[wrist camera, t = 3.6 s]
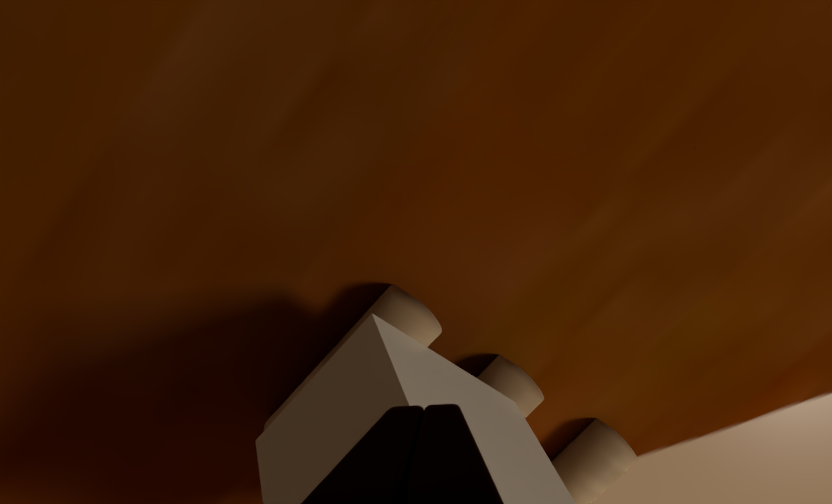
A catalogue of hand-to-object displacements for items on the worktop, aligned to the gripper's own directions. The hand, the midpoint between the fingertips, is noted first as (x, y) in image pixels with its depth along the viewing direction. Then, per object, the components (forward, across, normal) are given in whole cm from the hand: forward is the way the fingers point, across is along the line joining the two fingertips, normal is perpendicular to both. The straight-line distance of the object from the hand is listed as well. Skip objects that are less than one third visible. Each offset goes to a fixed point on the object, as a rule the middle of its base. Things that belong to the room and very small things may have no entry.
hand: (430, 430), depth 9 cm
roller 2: (+12, +1, -16) cm, 20 cm away
